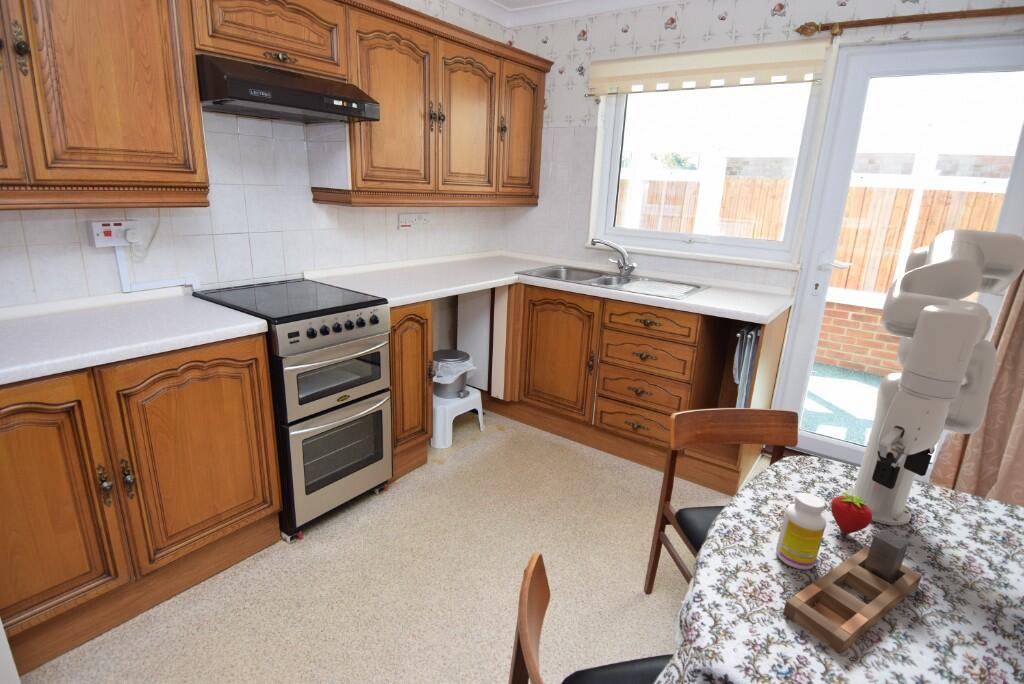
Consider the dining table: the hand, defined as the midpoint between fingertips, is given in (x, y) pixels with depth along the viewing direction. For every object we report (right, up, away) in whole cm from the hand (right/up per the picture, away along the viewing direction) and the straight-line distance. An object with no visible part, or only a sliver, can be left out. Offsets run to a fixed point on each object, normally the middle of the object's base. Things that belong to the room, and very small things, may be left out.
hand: (898, 478), depth 90 cm
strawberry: (+3, -16, +19) cm, 25 cm away
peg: (+1, -20, +6) cm, 21 cm away
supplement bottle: (-12, -18, +11) cm, 24 cm away
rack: (-7, -21, +1) cm, 22 cm away
